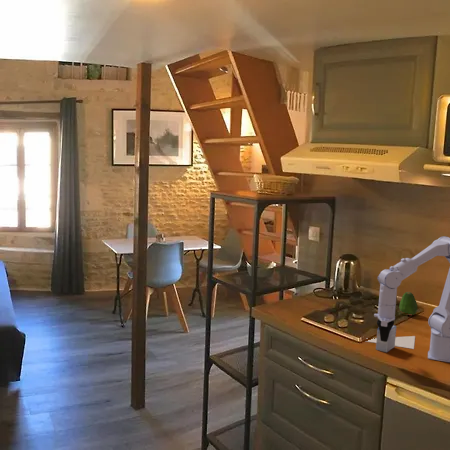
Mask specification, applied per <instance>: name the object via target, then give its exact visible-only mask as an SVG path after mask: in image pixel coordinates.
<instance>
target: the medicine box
mask: <svg viewBox="0 0 450 450" xmlns="http://www.w3.org/2000/svg"><path fill="white" fill-rule="evenodd" d="M377 327H378V326H377ZM376 332H377V333H376V338H377V341H376V343H375V350H377V351H379V352H382V353H388V352H390V351H391V350H392V349H395V347H396V346H395V338H396V337H397V336H396V335H397V326H396V325H395V324H394V325H393V327H392V328H391V330H390V333H389V337H388V340H387V342H384V341H381V339H380V331H379V327H378V328H377V330H376Z"/></svg>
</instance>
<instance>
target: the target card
mask: <svg viewBox="0 0 450 450" xmlns="http://www.w3.org/2000/svg"><path fill="white" fill-rule="evenodd" d="M372 338H373V339H371V340H368V341H366V342H368V343H374V344H376V341H377V337H372ZM374 338H375V339H374ZM415 341H416V336H415V335H412V336H410V335H409V336H396V338H395V347H399V348H406V349H412V350H414V349H415Z"/></svg>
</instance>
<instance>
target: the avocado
mask: <svg viewBox="0 0 450 450" xmlns="http://www.w3.org/2000/svg"><path fill="white" fill-rule="evenodd" d="M401 296H402V297H401V299H400V302H399V307H398V308H399V312H400V311H402V312H405V313H408V314H412V315H414V314H415V315H416V314H417V311H418V303H417V299H416V298H415V296H414V294H413V293H412V292H411V291H406V292H403V295H401ZM415 315H414V316H415Z"/></svg>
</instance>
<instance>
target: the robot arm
mask: <svg viewBox="0 0 450 450" xmlns="http://www.w3.org/2000/svg"><path fill="white" fill-rule="evenodd" d="M436 257H445V259H446V260H447V261H448V263H449V264H450V237H449V236H445V235H444V236H440V237H439V238H438V239H435V240H434V241H433V242H432V243H431V244H430V245H428V246H427V247H426V248H424V249H422V250H421V251H420V252H419V253H417V254H416V255H415V256H413V257H411V258H410V257H405V258H403V257H402V258H401V259H400V261H399V262H397V263H396V264H394V265H393V266H392V265H391V266H389V269H387V268H385V269H383V270H382V271H380V273H379V274H378V276H377V281H378V283H379V285H380V286H379V295H378V296H379V298H378V307H377V313H374V314H373V316H374V317H375V318H377V321H376V324H377V327H379V331H380V339H381V341H384V342H387V340H388V337H389V333H390V330H391V328H392V327H393V325H394V326H395V320H396V316H395V315H396V305H397V293H398V288H399V286H401V284H402V281H403V280H405V279H407V278H408V277H409V276H411V275H413V274H414V273H417V271H418V267H419V266H421V265H424V264H425V263H426V262H428V261H430V260H432V259H433V258H436ZM443 286H444V287H443V289H442V294H441V297H440V300H439V305H438V306H436V307H435V308H433V311H432V313H431V314H430V316H429V318H428V321H427V323H428V326H429V327H430V339H429V340H430V341H429V350H428V351H427V359H428V360H434V361H441V362H445V363H450V267H449V269H448V272H447V276H446V279H445V283H444V285H443Z"/></svg>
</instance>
